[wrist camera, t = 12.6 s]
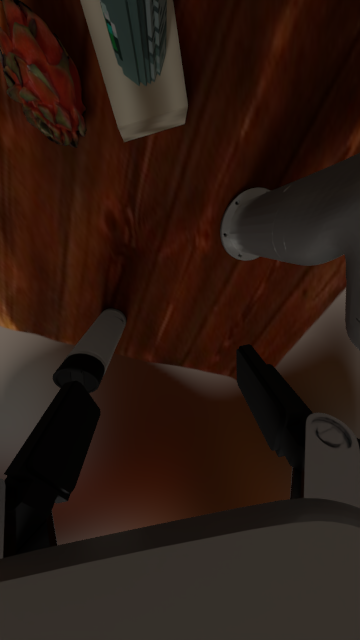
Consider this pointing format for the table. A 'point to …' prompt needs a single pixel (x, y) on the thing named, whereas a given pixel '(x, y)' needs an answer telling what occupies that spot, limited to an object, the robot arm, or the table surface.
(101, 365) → the travel mug
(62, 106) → the dragon fruit
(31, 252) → the table surface
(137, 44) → the can
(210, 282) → the table surface
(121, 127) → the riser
